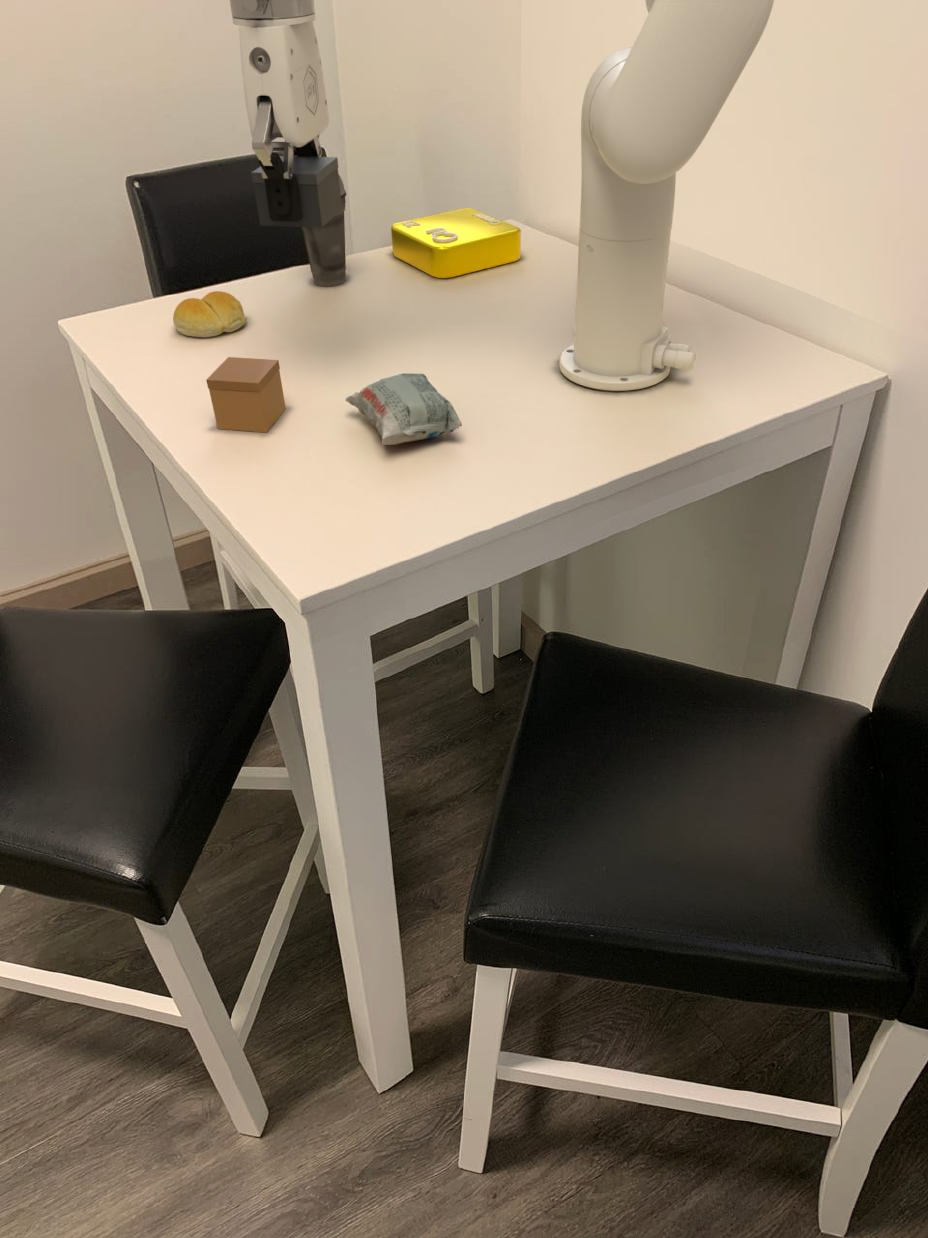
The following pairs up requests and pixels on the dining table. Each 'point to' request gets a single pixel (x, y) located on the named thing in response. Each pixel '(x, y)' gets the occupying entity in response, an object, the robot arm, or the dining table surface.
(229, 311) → the bread roll
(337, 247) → the beverage cup
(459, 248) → the element tile
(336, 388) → the dining table surface
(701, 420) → the dining table surface
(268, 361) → the kraft box
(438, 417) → the packaged food
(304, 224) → the charcoal box
